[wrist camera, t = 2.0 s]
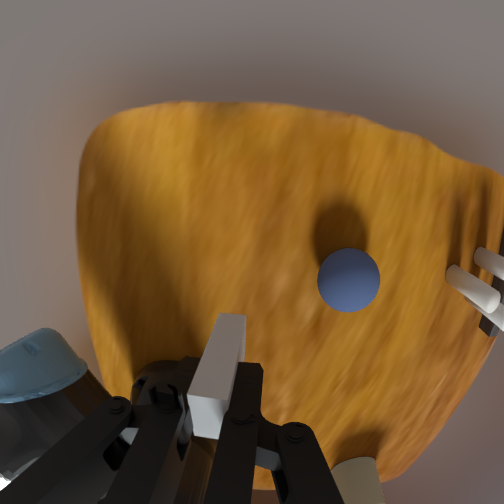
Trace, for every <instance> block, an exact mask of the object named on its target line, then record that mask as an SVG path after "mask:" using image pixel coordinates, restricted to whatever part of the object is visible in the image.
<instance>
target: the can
mask: <svg viewBox="0 0 504 504" xmlns="http://www.w3.org/2000/svg"><path fill="white" fill-rule="evenodd" d="M331 474H332V476H333V478H334V480H335V483H336V485H337V487H338V489H339V492H340V494H341V496H342V498H343V501H344V503H345V504H385V501H384V496H383V492H382V488H381V484H380V480H379V476H378V472H377V467H376V460H375V459H374V458H372V457H357V458H353V459H349V460H346V461H344V462H341V463H339V464H338V465H336V466H335V467H334V468H332V470H331Z"/></svg>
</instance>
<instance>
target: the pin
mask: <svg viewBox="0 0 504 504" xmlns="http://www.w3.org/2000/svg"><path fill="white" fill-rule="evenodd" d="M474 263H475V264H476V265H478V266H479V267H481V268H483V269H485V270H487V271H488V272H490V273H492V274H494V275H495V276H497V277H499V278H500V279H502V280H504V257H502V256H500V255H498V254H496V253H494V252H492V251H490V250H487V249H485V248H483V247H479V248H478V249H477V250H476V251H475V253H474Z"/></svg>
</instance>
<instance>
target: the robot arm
mask: <svg viewBox="0 0 504 504" xmlns="http://www.w3.org/2000/svg"><path fill="white" fill-rule="evenodd" d="M245 340H246V315H239V314H227V313H219V315H218V318H217V320H216V323H215V325H214V328H213V330H212V333H211V335H210V338H209V340H208V343H207V345H206V348H205V350H204V353H203V355H202V358H197V357H189V356H186V357H185V358H183V359H182V360H181V361H180V362H179V361H158V362H154V363H151V364H149V365H147V366H145V367H144V368H143V369H142V370H141V371H140V373H139V374H138V376H137V377H136V379H135V381H134V383H133V385H132V389H131V397H130V401H129V400H128V399H126V398H124V397H121V396H114V397H112V396H111V395H110V394H109V392H108V391H107V390H106V389H105V388H104V387H103V386H102V385H101V383H100V382H99V381H98V380H97V379H96V377H94V375H93V374H92V373H91V372H90V370H89V369H88V366H87V363H86V362H85V361H84V360H83V359H82V358H79V356H78V355H77V354H76V353H75V352H74V350H73V349H72V348H71V347H70V345H69V344H68V343H67V341H66V340H65V339H64V338H63V336H62V335H61V334H60V333H59V332H57V331H56V330H53V329H50V328H41V329H39V330H36V331H34V332H32V333H30V334H28V335H26V336H24V337H22V338H21V339H19V340H17V341H15V342H13V343H12V344H10V345H8V346H7V347H5V348H3V349H1V350H0V504H251V495H252V487H253V478H254V468H255V465H257V466H260V467H263V468H266V469H269V470H271V473H272V476H273V480H274V484H275V488H276V491H277V495H278V498H279V502H280V504H345V503H344V501H343V498H342V496H341V494H340V492H339V489H338V487H337V485H336V483H335V480H334V478H333V476H332V474H331V471H330V469H329V467H328V464H327V462H326V460H325V458H324V455H323V453H322V451H321V448H320V446H319V444H318V441H317V439H316V437H315V434H314V432H313V431H312V429H311V428H310V427H309V426H307V425H306V424H303V423H300V422H290V423H287V424H284V425H283V426H280V425H276V424H273V423H271V422H269V421H267V420H266V419H265V418H264V417H263V416H262V414H261V410H260V407H261V395H262V383H263V369H262V367H261V365H260V363H248V362H244V357H245Z"/></svg>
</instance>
